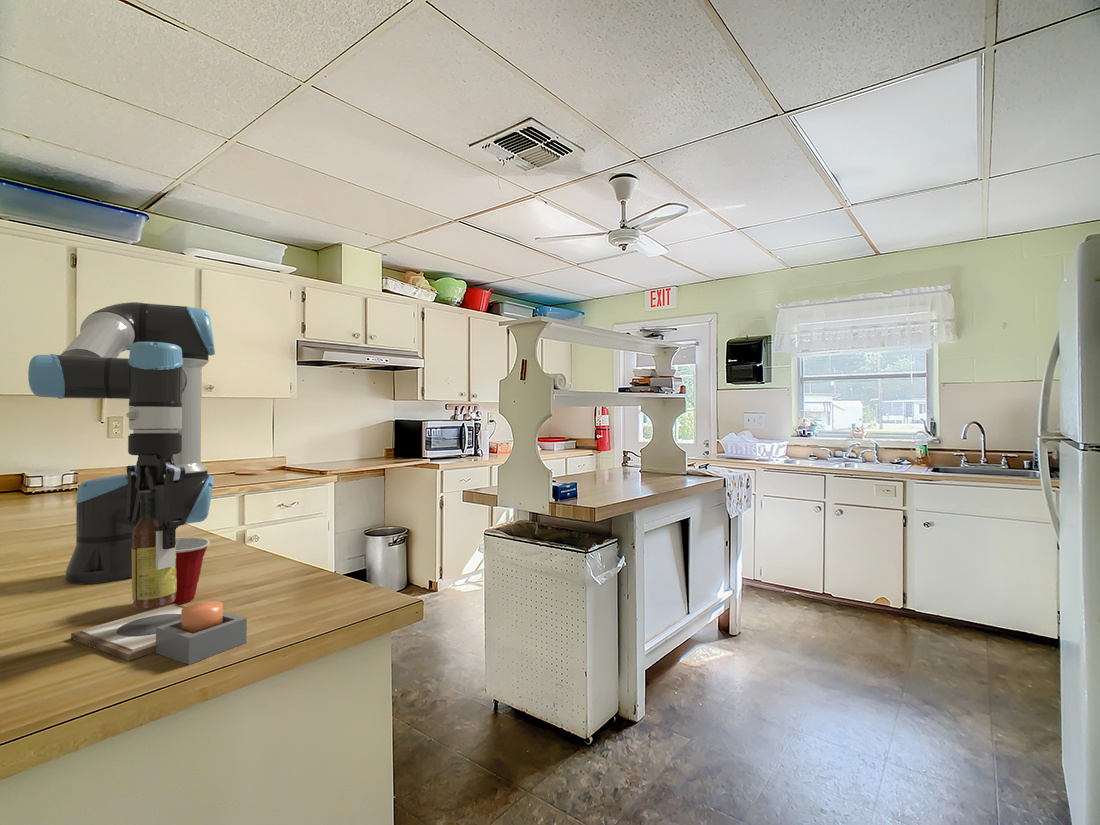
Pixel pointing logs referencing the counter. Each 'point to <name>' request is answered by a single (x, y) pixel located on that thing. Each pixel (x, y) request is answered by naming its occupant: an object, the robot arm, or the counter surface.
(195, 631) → the button
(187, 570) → the plastic cup
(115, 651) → the board
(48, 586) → the counter surface
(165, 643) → the button housing
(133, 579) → the sauce bottle
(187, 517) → the robot arm
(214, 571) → the counter surface
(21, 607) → the counter surface
